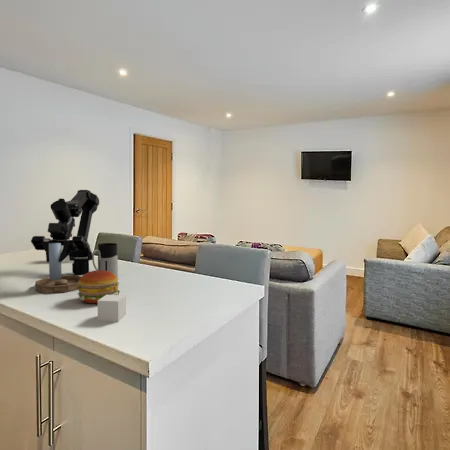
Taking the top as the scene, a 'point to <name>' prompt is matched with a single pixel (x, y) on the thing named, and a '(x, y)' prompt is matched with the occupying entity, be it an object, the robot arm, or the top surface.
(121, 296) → the white cube
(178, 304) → the top surface
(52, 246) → the peg
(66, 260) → the ink box
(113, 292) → the burger
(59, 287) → the tray
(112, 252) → the grey jug
